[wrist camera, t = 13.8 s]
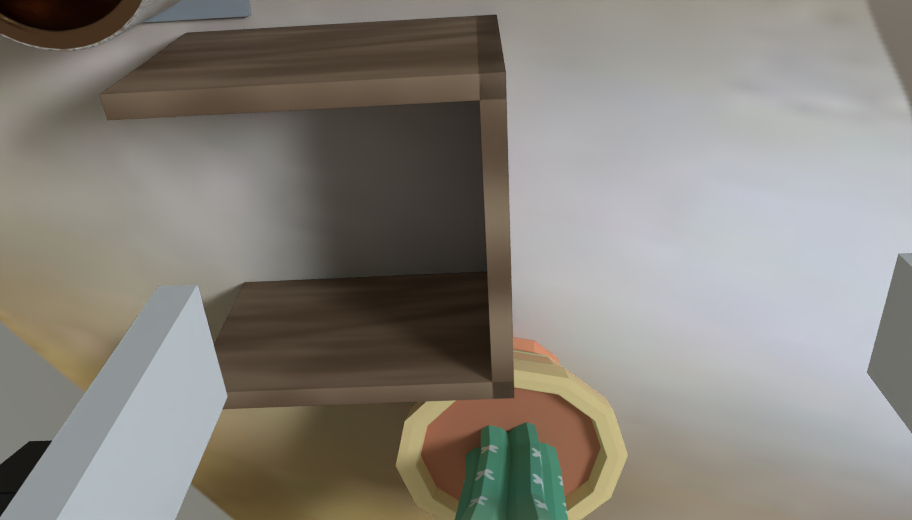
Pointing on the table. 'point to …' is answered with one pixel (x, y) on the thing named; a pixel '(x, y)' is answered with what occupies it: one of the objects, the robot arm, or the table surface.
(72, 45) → the planter
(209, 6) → the mat
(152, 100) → the wooden cubby shelf
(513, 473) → the potted cactus
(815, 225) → the table surface
